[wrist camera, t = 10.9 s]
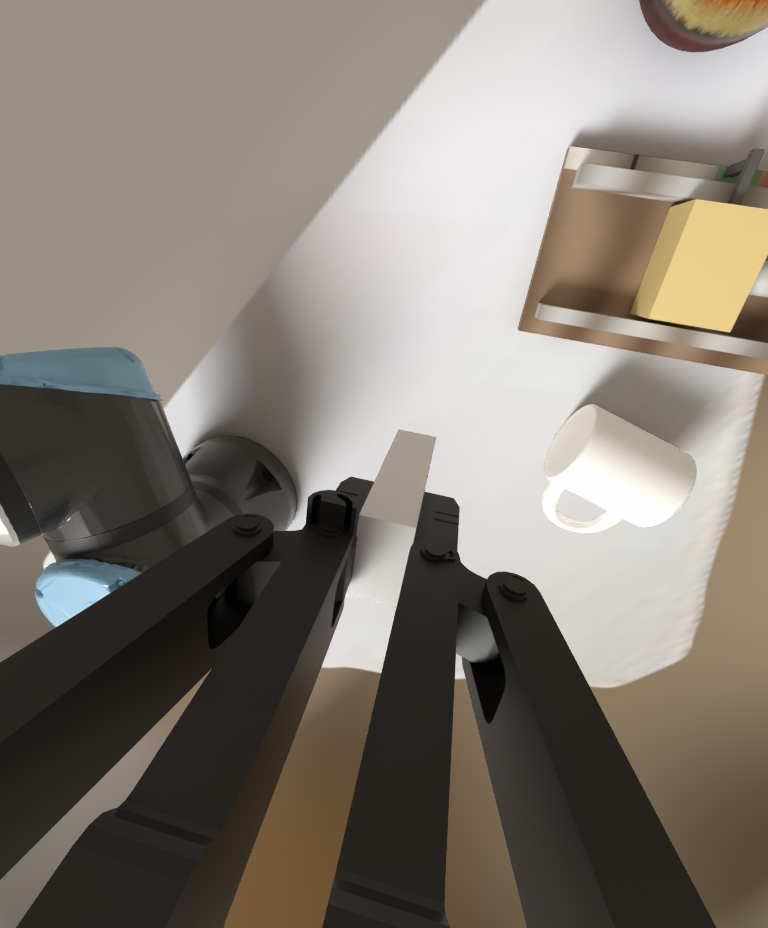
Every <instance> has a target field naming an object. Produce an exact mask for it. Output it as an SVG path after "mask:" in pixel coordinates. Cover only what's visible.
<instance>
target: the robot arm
mask: <svg viewBox="0 0 768 928" xmlns="http://www.w3.org/2000/svg"><path fill="white" fill-rule="evenodd" d="M160 401H161V397H160V395H159V394H157V393H156V391H155V389H154V387H153V385H152V383H151V381H150V379H149V376H148V374H147V372H146V370H145V367H144V365H143V364H142V362H141V360H140V359H139V358H138V357H137V356H136V355H135V354H133V353H132V352H130V351H128V350H126V349H123V348H119V347H93V348H92V347H91V348H75V349H63V350H62V349H61V350H48V351H37V352H26V353H16V354H7V355H4V356H0V544H2V545H7V546H12V547H13V546H16V545H19V544H22V543H24V542H26V541H28V540H31V539H33V538H35V537H37V536H40V535H42V536H43V538H44V539H45V541H46V543H47V544H48V546H49V548H50V550H51V552H52V554H53V555H54V557H55V559H56V563H52V564H50V565H48V567H46V568H45V570H44V571H43V574H42V575H41V576H40V577H39V578H38V580H37V583H36V588H37V589H36V591H35V596H36V600H37V602H38V605H39V607H40V609H41V611H42V612H43V613H44V615H45V616H46V617H47V619H48V620H49V621H50V622H51V623H52V624H53V625H54V626H55V627H56V628H54V629H53V630H51V631H50V632H48V633H46V634H45V635H43V636H42V637H40V638H39V639H37V640H35V641H34V642H32V643H31V644H29V645H28V646H26V647H24V648H23V649H21V650H19V651H18V652H16V653H15V654H13V655H12V656H10V657H8V658H7V659H5V660H4V661H2V662H0V879H1V878H2V877H3V876H4V875H5V874H6V873H7V872H8V871H9V870H10V869H11V868H12V867H13V866H14V865H15V864H16V863H17V862H18V861H19V860H20V859H21V858H22V857H23V856H24V855H25V854H26V853H27V852H28V851H29V850H30V849H31V848H32V847H33V846H34V845H35V844H36V843H37V842H38V841H39V840H40V839H41V838H42V837H43V836H44V835H45V834H46V833H47V832H48V831H49V830H50V829H51V828H52V827H53V826H54V825H55V824H56V823H57V822H58V821H59V820H60V819H61V818H62V817H63V816H64V815H65V814H66V813H67V812H68V811H69V810H70V809H71V808H72V807H73V806H74V805H75V804H76V803H77V802H78V801H79V800H80V799H81V798H82V797H83V796H84V795H85V794H86V793H87V792H88V791H89V790H90V789H91V788H92V787H93V786H94V785H95V784H96V783H97V782H98V781H99V780H100V779H101V778H102V777H103V776H104V775H105V774H106V773H107V772H108V771H109V770H110V769H111V768H112V767H113V766H114V765H115V764H116V763H117V762H118V761H119V760H120V759H121V758H122V757H123V756H124V755H125V754H126V753H127V752H128V751H129V750H130V749H131V748H132V747H133V746H134V745H135V744H136V743H137V742H138V741H139V740H140V739H141V738H142V737H143V736H144V735H145V734H146V733H147V732H148V731H149V730H150V729H151V728H152V727H153V726H154V725H155V724H156V723H157V722H158V721H159V720H160V719H161V718H162V717H163V716H165V714H166V713H167V712H168V711H169V710H170V709H171V708H172V707H173V706H174V705H175V704H177V703H178V702H179V700H181V699H182V698H183V697H184V695H185V694H187V692H189V691H190V689H192V687H193V686H194V685H196V684H197V682H198V681H200V679H202V678H203V677H204V676H205V675H206V674H207V673H208V672H209V670H210V669H211V671H210V672H209V674H208V676H207V677H206V678H205V680H204V682H203V683H202V685H201V686H200V688H199V689H198V691H197V692H196V694H195V696H194V697H193V699H192V700H191V702H190V703H189V705H188V706H187V708H186V709H185V711H184V712H183V714H182V716H181V717H180V718H179V720H178V722H177V723H176V725H175V726H174V728H173V729H172V731H171V732H170V734H169V735H168V737H167V738H166V740H165V742H164V743H163V745H162V746H161V748H160V749H159V751H158V752H157V754H156V755H155V757H154V759H153V760H152V762H151V763H150V765H149V766H148V768H147V769H146V771H145V772H144V774H143V775H142V777H141V779H140V780H139V782H138V783H137V785H136V786H135V788H134V789H133V791H132V792H131V794H130V795H129V796H128V797H127V799H126V800H125V801H124V802H123V803H122V804H121V805H120V806H119V807H118V808H115V809H112V810H109V811H107V812H104V813H102V814H101V815H100V816H99V817H98V818H96V819H95V820H94V821H93V822H92V823H91V824H90V825H89V826H88V827H87V828H86V830H85V831H84V832H83V833H82V835H81V836H80V837H79V838H78V840H77V841H76V842H75V844H74V845H73V846H72V848H71V849H70V851H69V852H68V853H67V855H66V856H65V858H64V859H63V861H62V862H61V864H60V865H59V866H58V868H57V869H56V871H55V872H54V874H53V875H52V877H51V878H50V879H49V881H48V882H47V884H46V885H45V887H44V888H43V890H42V891H41V892H40V894H39V895H38V897H37V898H36V900H35V901H34V903H33V904H32V906H31V907H30V909H29V910H28V911H27V913H26V914H25V916H24V917H23V919H22V920H21V921H20V923H19V924H18V926H17V927H16V928H223V927H224V924H225V921H226V918H227V915H228V913H229V910H230V907H231V905H232V902H233V899H234V897H235V894H236V891H237V889H238V886H239V883H240V881H241V878H242V875H243V873H244V870H245V868H246V865H247V862H248V860H249V857H250V854H251V852H252V849H253V846H254V844H255V841H256V838H257V836H258V833H259V830H260V828H261V825H262V822H263V819H264V817H265V814H266V812H267V809H268V807H269V804H270V801H271V798H272V796H273V793H274V791H275V788H276V785H277V782H278V780H279V777H280V775H281V772H282V769H283V767H284V764H285V761H286V759H287V756H288V754H289V751H290V748H291V746H292V743H293V740H294V738H295V735H296V732H297V730H298V727H299V724H300V722H301V719H302V716H303V713H304V711H305V708H306V706H307V703H308V700H309V698H310V695H311V692H312V690H313V687H314V685H315V682H316V679H317V677H318V674H319V671H320V669H321V666H322V664H323V661H324V658H325V656H326V653H327V650H328V648H329V645H330V642H331V640H332V637H333V634H334V632H335V629H336V626H337V624H338V621H339V618H340V616H341V613H342V611H343V606H344V599H345V594H346V591H347V589H348V586H349V589H348V596H352V597H356V598H360V599H364V600H368V601H372V602H376V603H380V604H384V605H388V606H392V607H396V612H395V616H394V621H393V625H392V630H391V634H390V638H389V643H388V647H387V651H386V656H385V660H384V664H383V669H382V673H381V678H380V682H379V687H378V691H377V695H376V699H375V704H374V708H373V712H372V718H371V722H370V725H369V731H368V734H367V739H366V743H365V747H364V752H363V756H362V760H361V765H360V770H359V773H358V778H357V782H356V787H355V791H354V796H353V800H352V804H351V808H350V813H349V818H348V822H347V826H346V830H345V835H344V839H343V843H342V848H341V852H340V856H339V861H338V865H337V870H336V874H335V878H334V882H333V885H332V890H331V893H330V898H329V902H328V906H327V911H326V915H325V919H324V924H323V928H450V926H449V923H448V920H447V917H446V915H445V905H444V900H445V872H446V851H447V829H448V809H449V786H450V766H451V745H452V744H451V743H452V723H453V702H454V681H455V660H456V654H458V655H460V656H462V665H463V669H464V673H465V677H466V681H467V685H468V689H469V693H470V697H471V701H472V705H473V710H474V714H475V718H476V722H477V725H478V729H479V734H480V737H481V742H482V746H483V750H484V754H485V758H486V762H487V766H488V770H489V774H490V778H491V782H492V786H493V791H494V795H495V799H496V803H497V807H498V811H499V815H500V819H501V823H502V827H503V831H504V835H505V839H506V843H507V848H508V851H509V856H510V860H511V864H512V868H513V872H514V876H515V880H516V884H517V888H518V892H519V896H520V900H521V904H522V908H523V913H524V917H525V920H526V925H527V928H716V926H715V924H714V923H713V921H712V919H711V917H710V915H709V913H708V911H707V909H706V907H705V906H704V904H703V902H702V900H701V898H700V896H699V894H698V892H697V890H696V888H695V886H694V884H693V883H692V881H691V879H690V877H689V875H688V873H687V871H686V869H685V867H684V865H683V864H682V862H681V860H680V858H679V856H678V854H677V852H676V850H675V848H674V846H673V845H672V843H671V841H670V839H669V837H668V835H667V833H666V831H665V829H664V827H663V826H662V824H661V822H660V820H659V818H658V816H657V815H656V812H655V810H654V808H653V806H652V805H651V803H650V801H649V799H648V797H647V795H646V793H645V791H644V789H643V787H642V786H641V784H640V782H639V780H638V778H637V776H636V774H635V772H634V770H633V769H632V767H631V765H630V763H629V761H628V759H627V757H626V755H625V753H624V751H623V749H622V748H621V746H620V744H619V742H618V740H617V738H616V736H615V734H614V732H613V730H612V729H611V727H610V725H609V723H608V721H607V719H606V717H605V715H604V713H603V712H602V709H601V708H600V706H599V704H598V702H597V700H596V698H595V696H594V694H593V693H592V691H591V689H590V687H589V685H588V683H587V681H586V679H585V677H584V675H583V673H582V671H581V670H580V668H579V666H578V664H577V662H576V660H575V658H574V656H573V654H572V652H571V651H570V649H569V647H568V645H567V643H566V641H565V639H564V637H563V635H562V633H561V632H560V630H559V628H558V626H557V624H556V622H555V620H554V618H553V616H552V614H551V612H550V611H549V609H548V607H547V605H546V603H545V601H544V599H543V597H542V595H541V593H540V592H539V590H538V589H537V588H536V587H535V585H534V584H532V583H531V582H530V581H528V580H527V579H526V578H524V577H521V576H519V575H517V574H514V573H509V572H496V573H494V574H492V575H490V576H489V577H488V579H485V578H483V577H481V576H479V575H477V574H475V573H473V572H471V571H470V570H468V569H467V568H466V567H465V566H464V565H463V564H462V563H461V562H460V557H459V553H458V552H457V544H458V524H459V506H458V504H457V503H456V501H455V500H454V498H450V497H445V496H441V495H436V494H432V493H427V492H424V491H425V486H426V482H427V477H428V473H429V468H430V463H431V459H432V454H433V449H434V445H435V440H436V437H433V436H428V435H423V434H418V433H413V432H409V431H404V430H398V432H397V434H396V436H395V438H394V441H393V443H392V445H391V447H390V449H389V451H388V454H387V456H386V458H385V460H384V462H383V464H382V466H381V469H380V471H379V473H378V475H377V477H376V479H375V482H373V481H368V480H364V479H359V478H354V477H350V478H348V479H346V480H344V481H342V482H341V483H340V485H339V486H338V488H337V489H336V491H333V490H325V491H319V492H316V493H313V494H312V495H311V496H309V497H308V505H307V517H306V525H305V526H304V528H303V529H302V530H297V531H286V530H287V528H288V527H289V525H290V524H291V522H292V520H293V518H294V515H295V512H296V505H297V499H296V492H295V488H294V484H293V482H292V479H291V477H290V475H289V473H288V472H287V470H286V469H285V467H284V466H283V464H282V463H281V462H280V461H279V460H278V459H277V458H276V457H275V456H274V455H273V454H272V453H271V452H270V451H268V450H267V449H265V448H264V447H262V446H261V445H259V444H257V443H255V442H253V441H250V440H248V439H245V438H241V437H236V436H218V437H214V438H211V439H208V440H206V441H204V442H202V443H201V444H199V445H198V446H196V447H195V448H193V449H192V450H190V451H189V452H188V453H187V454H186V455H185V456H184V457H183V459H182V456H181V454H180V451H179V449H178V446H177V444H176V441H175V439H174V436H173V434H172V431H171V428H170V426H169V423H168V420H167V418H166V415H165V412H164V410H163V407H162V405H161V402H160Z"/></svg>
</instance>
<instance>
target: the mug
mask: <svg viewBox="0 0 768 928" xmlns="http://www.w3.org/2000/svg"><path fill="white" fill-rule="evenodd" d="M696 473H697V469H696V464H695V461H694V459H693V458H692V456H691V455H689V454H688V453H686V452H684V451H682V450H681V449H679V448H677V447H675V446H673V445H671V444H669V443H667V442H665V441H663V440H662V439H660V438H658V437H656V436H654V435H652V434H650V433H648V432H646V431H644V430H643V429H641V428H639V427H637V426H635V425H633V424H631V423H629V422H627V421H625V420H624V419H622V418H620V417H618V416H616V415H614V414H612V413H610V412H608V411H606V410H605V409H603V408H601V407H599V406H597V405H594V404H589V405H586V406H584V407H582V408H580V409H579V410H577V411H576V412H575V413H574V414H573V415H572V416H571V417H570V418H569V419H568V420H567V421H566V422H565V423H564V425H563V426H562V427H561V429H560V430H559V431H558V433H557V434H556V436H555V438H554V439H553V441H552V443H551V445H550V447H549V450H548V452H547V455H546V458H545V462H544V474H545V476H546V478H547V479H548V480H550V482H549V484H548V486H547V488H546V490H545V492H544V495H543V500H542V505H543V510H544V512H545V514H546V515H547V517H548V518H549V519H550V520H551V521H552V522H553V523H555V524H556V525H558V526H560V527H562V528H564V529H566V530H570V531H574V532H582V533H590V532H598V531H602V530H605V529H607V528H610V527H612V526H613V525H615V524H616V523H618V522H619V521H620V520H622V519H625V520H627V521H629V522H631V523H633V524H635V525H637V526H640V527H650V526H654V525H657V524H660V523H662V522H664V521H665V520H667V519H668V518H670V517H671V516H672V515H673V514H675V513H676V512H677V511H678V510H679V509H680V508H681V506H682V505H683V504H684V503H685V501H686V500H687V498H688V497H689V495H690V493H691V491H692V489H693V487H694V484H695V480H696ZM564 489H568V490H570V491H571V492H573V493H575V494H577V495H579V496H581V497H583V498H585V499H587V500H589V501H591V502H593V503H595V504H596V505H598V506H600V507H602V508H604V509H606V510H607V511H606V512H605V513H604V514H603V515H601V516H600V517H598V518H597V519H595V520H593V521H590V522H577V521H573V520H570V519H568V518H566V517H564V516H562V515H560V514H559V513H558V511H557V504H558V500H559V498H560V496H561V494H562V492H563V490H564Z"/></svg>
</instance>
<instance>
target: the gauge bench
mask: <svg viewBox="0 0 768 928" xmlns="http://www.w3.org/2000/svg"><path fill="white" fill-rule="evenodd" d="M726 169H727V166H716V165H709V164H701V163H694V162H686V161H679V160H671V159H663V158H656V157H648V156H641V155H636V154H635V155H633V154H625V153H618V152H610V151H603V150H595V149H588V148H580V147H572V146H570V147H569V149H568V150H567V152H566V156H565V159H564V163H563V166H562V170H561V174H560V177H559V181H558V185H557V188H556V192H555V195H554V199H553V203H552V206H551V210H550V214H549V217H548V221H547V224H546V228H545V232H544V235H543V239H542V243H541V246H540V250H539V253H538V257H537V261H536V264H535V268H534V272H533V275H532V279H531V283H530V286H529V290H528V293H527V297H526V301H525V304H524V308H523V312H522V315H521V319H520V322H519V326H518V330H519V331H525V332H530V333H536V334H541V335H547V336H553V337H558V338H564V339H569V340H575V341H581V342H586V343H592V344H597V345H603V346H608V347H614V348H620V349H625V350H631V351H636V352H642V353H648V354H653V355H659V356H664V357H670V358H675V359H681V360H687V361H692V362H698V363H703V364H709V365H715V366H720V367H726V368H731V369H737V370H742V371H748V372H754V373H759V374H765V375H768V298H767V297H761V296H755V295H748V297H747V299H746V301H745V303H744V305H743V307H742V309H741V311H740V313H739V315H738V317H737V319H736V321H735V324H734V326H733V328H732V330H731V332H724V331H718V330H712V329H707V328H701V327H695V326H689V325H683V324H677V323H671V322H666V321H660V320H654V319H648V318H644V317H641V316H637V315H634V314H630V311H631V309H632V306H633V303H634V301H635V298H636V296H637V293H638V290H639V288H640V285H641V282H642V280H643V277H644V275H645V272H646V269H647V267H648V264H649V261H650V259H651V256H652V254H653V251H654V248H655V246H656V243H657V240H658V238H659V235H660V233H661V230H662V227H663V225H664V222H665V219H666V217H667V214H668V212H669V209H670V207H673V206H676V205H679V204H682V203H685V202H688V201H692V200H695V199H699V200H706V201H713V202H720V203H728V201H729V199H730V197H731V194H732V192H733V190H734V188H735V185H736V183H737V181H738V178H739V176H740V175H738V176H736V177H733V178H730V177H723V176H724V174H725V172H726ZM741 205H742V206H749V207H756V208H763V209H768V172H765V171H757V170H756V171H755V173H754V176H753V178H752V180H751V183H750V185H749V187H748V189H747V192H746V194H745V196H744V198H743V201H742V203H741ZM765 261H768V256H767V258H766V260H765Z"/></svg>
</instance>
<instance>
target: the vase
mask: <svg viewBox="0 0 768 928" xmlns="http://www.w3.org/2000/svg"><path fill="white" fill-rule="evenodd" d="M639 1H640V6H641V10H642V13H643V15H644V18H645V21H646V23H647V24H648V26H649V28H650V29H651V31H652V32H653V33H654V34H655V35H656V36H657V38H658V39H659V40H661V41H662V42H664V43H665V44H667V45H668V46H670V47H673V48H675V49H678V50H682V51H688V52H707V51H712V50H716V49H721V48H724V47H727V46H730V45H732V44H735V43H738V42H740V41H743V40H745V39H747V38H748V37H750V36H752V35H754V34H756V33H758V32H760V31H761V30H763V29H765V28H766V27H768V0H639Z"/></svg>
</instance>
